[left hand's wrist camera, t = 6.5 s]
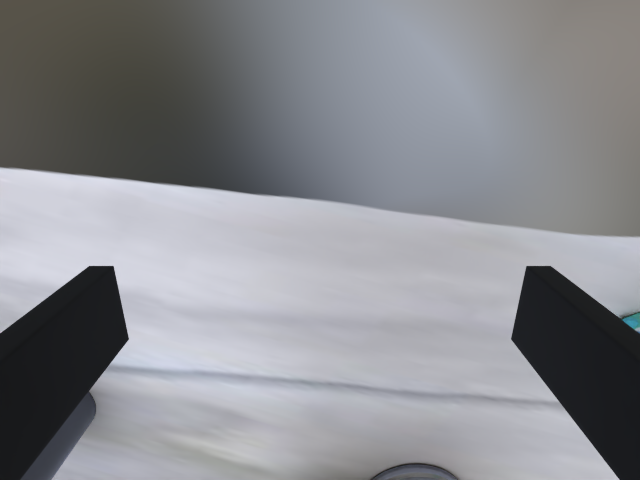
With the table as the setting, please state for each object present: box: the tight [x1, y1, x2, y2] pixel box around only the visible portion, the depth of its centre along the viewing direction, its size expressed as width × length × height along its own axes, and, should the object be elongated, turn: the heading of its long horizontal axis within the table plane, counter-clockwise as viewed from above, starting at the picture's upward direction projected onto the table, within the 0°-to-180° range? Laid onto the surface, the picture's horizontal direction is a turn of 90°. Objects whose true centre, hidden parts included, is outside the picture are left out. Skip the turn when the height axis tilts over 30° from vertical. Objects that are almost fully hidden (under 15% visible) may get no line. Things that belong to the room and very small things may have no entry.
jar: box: [20, 392, 96, 480], centre depth 42 cm, size 9×9×16 cm
